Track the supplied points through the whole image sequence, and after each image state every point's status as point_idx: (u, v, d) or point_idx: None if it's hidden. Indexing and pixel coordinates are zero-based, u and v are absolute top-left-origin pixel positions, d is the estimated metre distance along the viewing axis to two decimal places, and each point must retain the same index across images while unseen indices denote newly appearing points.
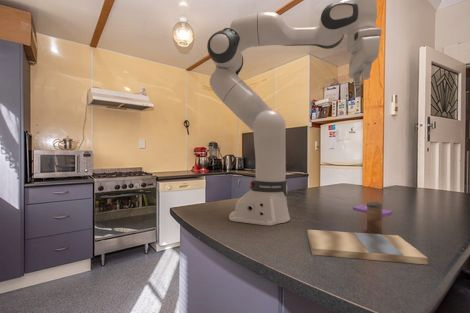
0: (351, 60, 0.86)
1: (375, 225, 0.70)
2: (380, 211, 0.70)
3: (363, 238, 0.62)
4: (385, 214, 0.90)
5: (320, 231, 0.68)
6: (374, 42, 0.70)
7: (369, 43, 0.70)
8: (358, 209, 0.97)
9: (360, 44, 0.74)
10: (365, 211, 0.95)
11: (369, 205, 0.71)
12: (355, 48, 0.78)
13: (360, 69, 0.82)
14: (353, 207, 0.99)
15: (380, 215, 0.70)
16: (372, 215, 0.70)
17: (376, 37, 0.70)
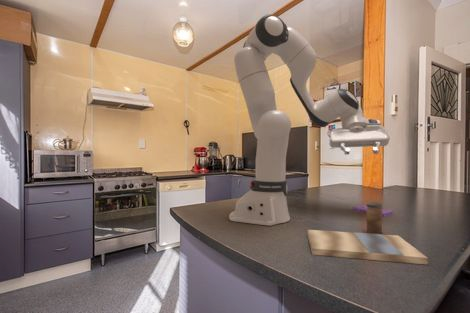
0: (339, 131, 0.92)
1: (375, 225, 0.70)
2: (380, 211, 0.70)
3: (363, 238, 0.62)
4: (385, 214, 0.90)
5: (320, 231, 0.68)
6: None
7: None
8: (358, 209, 0.97)
9: (374, 128, 0.89)
10: (365, 211, 0.95)
11: (369, 205, 0.71)
12: (362, 127, 0.90)
13: (351, 143, 0.89)
14: (353, 207, 0.99)
15: (380, 215, 0.70)
16: (372, 215, 0.70)
17: None
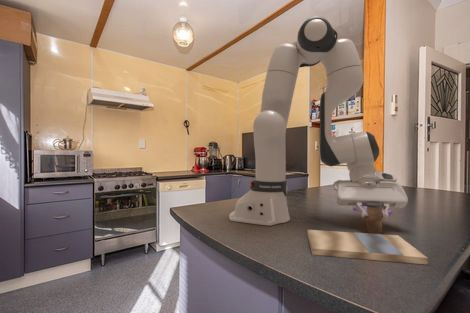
0: (348, 186, 0.78)
1: (375, 225, 0.70)
2: (380, 211, 0.70)
3: (363, 238, 0.62)
4: None
5: (320, 231, 0.68)
6: None
7: None
8: None
9: (389, 185, 0.75)
10: None
11: (369, 205, 0.71)
12: (375, 183, 0.76)
13: None
14: (353, 207, 0.99)
15: (380, 215, 0.70)
16: (373, 215, 0.70)
17: None
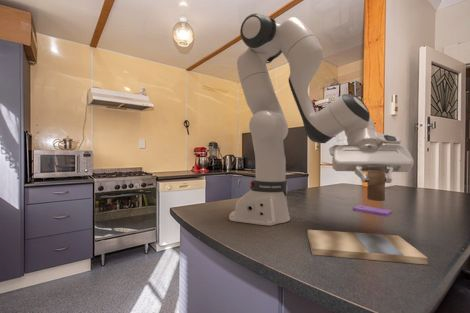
0: (346, 150, 0.69)
1: (377, 190, 0.61)
2: (383, 174, 0.61)
3: (363, 238, 0.62)
4: (387, 214, 0.90)
5: (320, 231, 0.68)
6: None
7: None
8: (359, 209, 0.97)
9: (392, 147, 0.66)
10: (366, 211, 0.94)
11: (370, 167, 0.62)
12: (376, 145, 0.67)
13: (362, 166, 0.66)
14: (353, 208, 0.98)
15: (383, 178, 0.61)
16: (374, 178, 0.61)
17: None
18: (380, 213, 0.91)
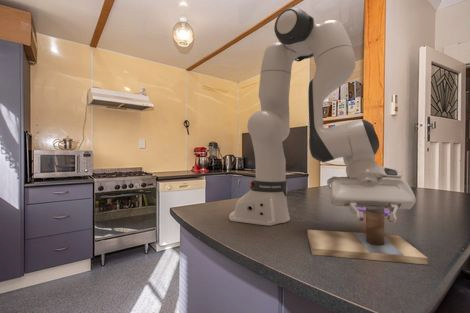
0: (344, 183, 0.66)
1: (376, 234, 0.58)
2: (382, 217, 0.58)
3: (363, 238, 0.62)
4: None
5: (320, 231, 0.68)
6: None
7: None
8: (359, 210, 0.96)
9: (393, 182, 0.63)
10: None
11: (368, 209, 0.59)
12: (376, 179, 0.64)
13: (361, 202, 0.63)
14: None
15: (382, 221, 0.58)
16: (373, 221, 0.58)
17: None
18: None
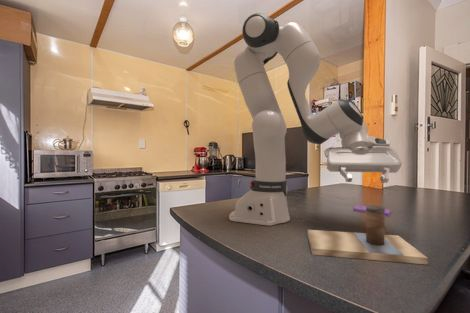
0: (339, 152, 0.74)
1: (376, 234, 0.58)
2: (382, 217, 0.58)
3: (363, 238, 0.62)
4: (388, 213, 0.90)
5: (320, 231, 0.68)
6: None
7: None
8: (359, 210, 0.96)
9: (382, 150, 0.72)
10: None
11: (369, 209, 0.59)
12: (367, 148, 0.73)
13: (354, 167, 0.72)
14: (354, 208, 0.98)
15: (382, 222, 0.58)
16: (373, 221, 0.58)
17: None
18: None
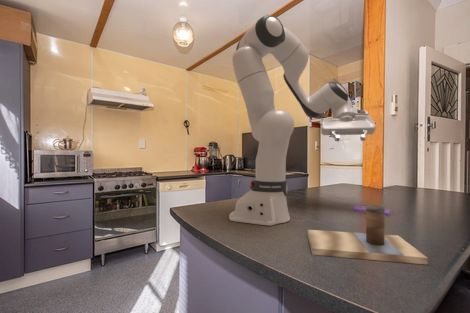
0: (330, 120, 0.98)
1: (376, 234, 0.58)
2: (382, 217, 0.58)
3: (363, 238, 0.62)
4: (389, 213, 0.91)
5: (320, 231, 0.68)
6: None
7: None
8: (360, 210, 0.96)
9: (362, 118, 0.96)
10: None
11: (369, 209, 0.59)
12: (351, 117, 0.97)
13: (341, 131, 0.96)
14: (354, 208, 0.97)
15: (382, 222, 0.58)
16: (373, 221, 0.58)
17: None
18: None
